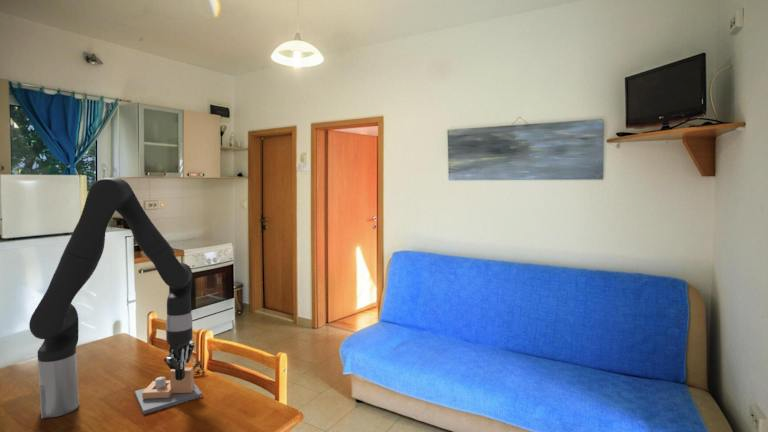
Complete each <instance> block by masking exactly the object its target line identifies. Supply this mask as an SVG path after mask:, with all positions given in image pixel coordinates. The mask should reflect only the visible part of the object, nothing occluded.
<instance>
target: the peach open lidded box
mask: <svg viewBox="0 0 768 432" xmlns="http://www.w3.org/2000/svg"><path fill="white" fill-rule="evenodd" d="M184 373H185V377H184V379H182V380H176V378H175V369H170V371H169V380H167V379H166V388H165V389H156V388H155V380H152V381H151V383H150V384H149V385H148V386H147V387H145V388H146V389H145V390H144V391H143V392H142V399H151V398H169V397H170V396H171V394H172V393H191V392H192V391H193V389H194V383H195V382H194V379H195V378H194V370H193V366H191V367H186V366H185V372H184Z"/></svg>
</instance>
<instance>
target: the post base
mask: <svg viewBox="0 0 768 432" xmlns="http://www.w3.org/2000/svg"><path fill="white" fill-rule="evenodd" d="M166 380H167V378H166V376H159V377H156V378H155V379H154V381H155V388H156V389H165V388H166ZM146 388H147V387H145V388H141V389H138V390H135V391H134V396H135V398H136V400H137V403H138V406H139V408H140V410H141V412H142V415H146V414H150V413H154V412H157V411H161V410H164V409H167V408H170V407H172V406H175V405H176V406H177V405H179V404H180V405H181V404H183V403H186V402H189V400H190V401H193V400H196V399H195V398H197V399H199V398H198V397H200V396H202V397H203V392H202V391H201V390H200V388H199V387H198V386H197V384H196V383H195V382H194V389H193V391H192V392H191V393H172V394H171V396H170V397H169V398H151V399H142V392H143V391H144V390H145V389H146ZM200 398H201V397H200ZM192 399H193V400H192Z"/></svg>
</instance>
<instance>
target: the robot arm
mask: <svg viewBox="0 0 768 432" xmlns="http://www.w3.org/2000/svg"><path fill="white" fill-rule="evenodd" d="M85 198H86V199H85V203H84V205H83V208H82V212H81V214H80V218H79V220H78V222H77V223H76V226H74V227H75V228H73V229H74V230H73V232H72V233H71V236H70V237H69V240H68V242H67V244H66V246H65V249H64V250H63V253H62V255H61V257H60V260H59V262H58V264H57V267H56V269H55V271H54V273H53V275H52V278H51V280H50V282H49V285H48V287H47V289H46V291H45V293H44V295H43V296H42V298H41V299H40V301H39V303H38V304H37V307H36V308H35V310H34V312H33V313H32V315H31V317H30V320H29V330H30V332H31V335H33V336H34V337H35V338H36V339H40V340H43V342H42V343H41V344H40V345H41V346H39V348H38V350H37V366H38V368H37V369H38V380H39V381H38V384H39V385H38V386H39V387H38V388H39V389H38V390H39V405H40V406H39V407H40V418H41V419H46V418H56V417H60V416H61V417H62V416H64V415H67V414H69V413H71V412H73V411H75V410H76V409H77V408H79V405H80V402H79V400H80V398H79V385H78V384H79V382H78V365H77V364H78V362H77V345H78V342H79V315H78V311H77V309H76V307H75V305H73V304H72V302H73V300H74V298H75V297H76V295H77V294H78V293H79V292H80V290H81V289H83V287H84V285H85V284H86V283H87V282H88V281H89V279H90V278H91V277H92V275H93V274H94V272H95V270H96V269H97V266H98V264H99V262H100V260H101V258H102V255H103V253H104V250H105V243H106V233H107V228H108V225H109V224H110V221H111V219H112V218H113V216H114V214H115V212H116V213H118V214H119V215H120V216H121V217H122V218H123V220H124V221H125V222H126V224H127V225H128V227H129V229H130V231H131V233H132V235H133V237H134V239H135V241H136V244H137V245H138V247H139V248H140V249H141V251H142V252H143V253H144V254H145V256H146V257H147V258H148V259H149V261H150V262H151V263H152V264H153V265H154V267H155V269H156V271H157V272H158V275H159V276H160V278H161V279H162V281H163V282H164V283H165V284H166V285H167V286H168V296H167V299H166V317H165V318H166V319H165V328H166V329H165V330H166V331H165V335H166V337H165V338H166V339H165V340H166V344H168V345H169V350H168V353H169V354H168V356H167V357H164V358H163V361H164V362H165V364H166V365H167V367H168V368H169V370H171V369H175V378H176V380H182V379H184V377H185V373H184V372H185V368H186V365H187V364H188V363H190V360H191V357H192V354H193V351H194V348H195V345H194V344H191V341H192V340H193V315H192V287H193V271H192V268H191V267H190V266H189V265H188V264H186V263H183V262H180V261H179V260H178V258H177V257H176V255H175V250H174V249H173V247H172V246H171V245H170V244H169V242H168V241H167V239H166V238H165V237H164V236H163V234H162V233H161V232H160V231H159V230H158V229H157V227H156V226H155V224H154V223H153V222H152V220H151V219H150V217H149V216H148V215H147V213H146V211H145V210H144V208H143V206H142V205H141V203H140V201H139V200H138V198H137V195H136V194H135V192H134V191H133V189H132V187H131V185H130V184H129V183H128V182H127V181H126V180H124V179H122V178H119V177H105V178H104V177H103V178H100V179H98V180H96V181H95V182H93V183H92V184H91V186H90V187H89V190H88V193H87V195H86V197H85Z"/></svg>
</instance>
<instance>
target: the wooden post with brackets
mask: <svg viewBox="0 0 768 432" xmlns="http://www.w3.org/2000/svg"><path fill="white" fill-rule="evenodd" d="M192 367H193V371H194V370H195V369H196V368H198V369H196V371H194V373H197V372H199V373H201V371H204V370H205V368H204V366H203V365H202V360H201V359H200V360H198V361H196V363H195V364H194V365H192Z"/></svg>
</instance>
